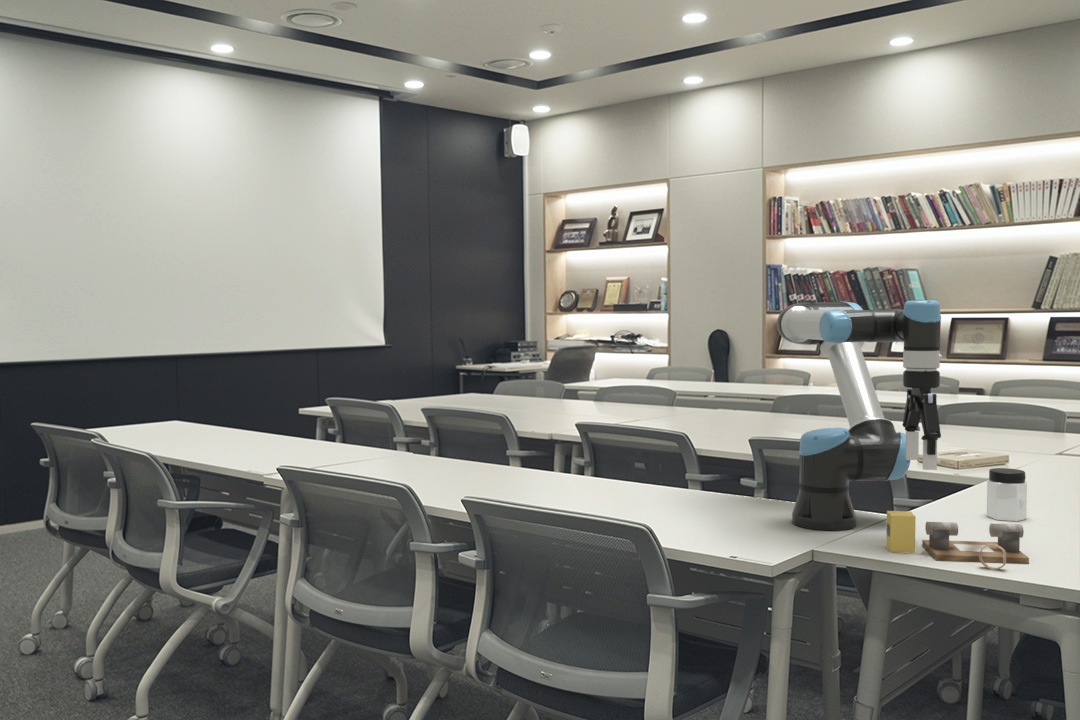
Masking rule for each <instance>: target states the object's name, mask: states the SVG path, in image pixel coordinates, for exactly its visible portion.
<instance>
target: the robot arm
mask: <svg viewBox="0 0 1080 720" xmlns="http://www.w3.org/2000/svg"><path fill="white" fill-rule="evenodd" d="M941 322H942V315H941V304H940V302H939V301H938V300H936V299H935V300H934V299H933V300H932V299H931V300H929V299H927V300H907V301H905V303H904V306H903V309H900V308H896V309H895V308H894V309H893V308H892V309H891V308H890V309H863V308H862V307H861V306H860V305H859V304H858V303H856V302H847V301H844V300H841V301H837V302H833V301H832V302H829V301H828V302H823V301H821V302H818V301H817V302H808V301H807V302H797V303H792V304H791V305H789V306H786V307H785V308H784V309H782V310H781V311H780V313H779V315H778V316H777V320H776V327H777V328H776V329H777V331H778V333H779V335H780V336H781V338H783V340H785V341H787V342H789V343H792V344H795V345H803V346H804V345H807V346H808V345H809V346H810V345H812V346H814V345H818V347H819V351H820V352H821V354H822V355H823V356H825V358H828V360H829V363H830V366H831V369H832V373H833V376H834V379H835V382H836V385H837V389H838V391H839V392H838V393H839V395H840V400H841V402H842V405H843V409H844V410H845V411H844V412H845V415H846V418H847V422H848V424H849V428H848V429H847V428H844V427H825V428H817V429H813V430H809V431H806V432H805V433H803V434H802V435H801V437H800V439H799V449H798V455H799V457H798V458H799V490H798V491H799V492H798V495H797V497H796V498H797V499H796V501H795V504H794V506H793V510H792V514H791V522H792V524H794V525H795V526H798V527H801V528H805V529H810V530H811V529H812V530H819V531H821V530H822V531H843V530H850V529H853V528H856V526H857V517H856V516H857V515H856V511H855V510H854V506H853V503H852V501H851V497H850V494H849V490H850V489H849V484H850V482H865V481H866V482H867V481H869V482H870V481H871V482H872V481H874V482H875V481H884V482H887V481H894V480H899V479H900V480H901V479H902V478H903V477H904V476H905V475H906V474H907V472H908V470H909V468H910V464H911V461H918V460H919V454H920V453H919V448H920V447H919V445H920V444H919V441H920V438H919V437H920V436H919V435H920V431H921V427H922V431H923V435H922V436H921V440H922V470H923V471H931V470H932V471H937V470H938V441H939V439H941V437H942V434H941V433H942V432H941V426H940V420H939V419H940V418H939V411H938V404H937V393H932V391H931V390H932V389H938V388H940V385H941V383H940V382H941V379H940V378H941V373H940V371H939V370H938V369H939V368H940V366H941V365H940V364H941V362H940V361H941V359H943V355H942V354H941V353H940V352H941V351H940V350H941V349H940V348H941V325H942V323H941ZM864 343H903V351H902V353H903V354H902V355H903V357H902V358H903V359H902V367H903V368H904V369H905V370H904V371H903V372H902V373H903V374H902V375H903V376H902V377H903V378H902V385H903V386H904V387H905V388H907V390H906V402H905V407H904V413H903V421H902V426H903V428H904V430H905V432H902V431H898V432H896V429H895V426H894V423H893V422H892V421H891V420H890V419H888V418H885V416H884V412H883V410H882V407H881V404H880V401H879V398H878V395H877V392H876V390H875V387H874V384H873V379H872V377H871V374H870V371H869V368H868V365H867V362H866V360H865V357H864V353H863V351H862V347H863V346H864ZM920 422H921V427H920V425H919V424H920Z"/></svg>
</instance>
